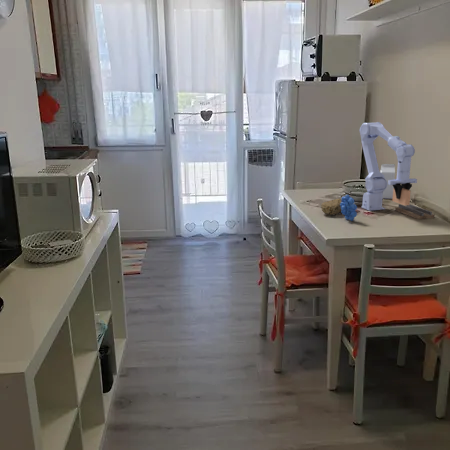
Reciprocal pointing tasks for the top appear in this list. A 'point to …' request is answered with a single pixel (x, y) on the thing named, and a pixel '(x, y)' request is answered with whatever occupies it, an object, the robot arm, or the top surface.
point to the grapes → (348, 207)
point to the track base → (414, 211)
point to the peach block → (402, 197)
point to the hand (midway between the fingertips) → (400, 198)
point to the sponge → (332, 206)
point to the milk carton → (389, 174)
